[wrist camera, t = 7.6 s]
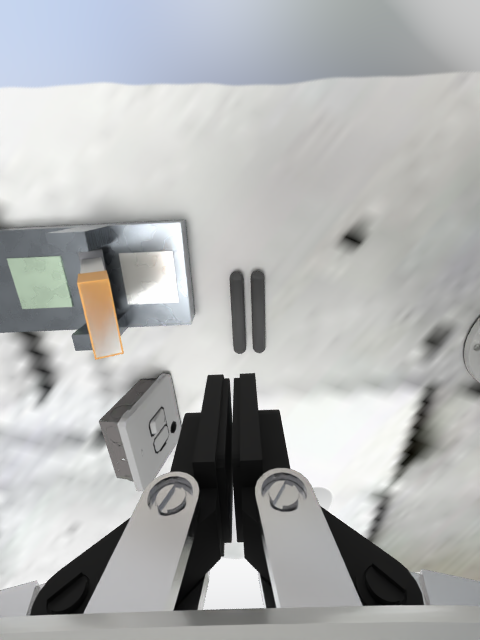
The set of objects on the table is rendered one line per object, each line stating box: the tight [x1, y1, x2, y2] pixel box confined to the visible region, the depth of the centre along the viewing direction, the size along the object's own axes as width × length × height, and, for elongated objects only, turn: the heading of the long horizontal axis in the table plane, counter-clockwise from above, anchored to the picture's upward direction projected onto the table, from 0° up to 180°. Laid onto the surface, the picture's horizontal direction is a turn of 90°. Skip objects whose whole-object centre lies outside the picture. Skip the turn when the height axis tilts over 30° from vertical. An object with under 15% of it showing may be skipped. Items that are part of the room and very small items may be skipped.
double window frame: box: [0, 220, 195, 351], centre depth 30 cm, size 20×10×8 cm, turn 92°
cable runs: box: [230, 271, 265, 354], centre depth 35 cm, size 4×9×1 cm, turn 3°
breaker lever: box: [77, 248, 124, 360], centre depth 25 cm, size 2×6×12 cm, turn 1°
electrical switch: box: [99, 373, 181, 491], centre depth 36 cm, size 9×5×9 cm, turn 6°
